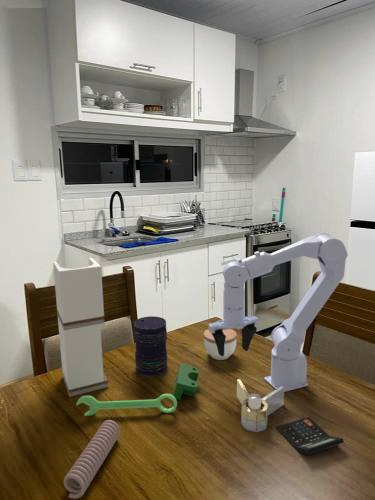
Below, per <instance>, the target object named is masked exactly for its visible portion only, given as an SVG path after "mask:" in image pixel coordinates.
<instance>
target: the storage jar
mask: <svg viewBox="0 0 375 500" xmlns="http://www.w3.org/2000/svg"><path fill="white" fill-rule="evenodd" d="M167 332H168V330H167V320H166V319H165V318H163V317H159V316H153V315H151V316H143V317H140V318H137V319H136V320H135V321H134V322H133V336H134V337H133V339H134V342H135V352H134V357H135V358H134V363H135V371H136V372H137V374H139V375H140V376H144V377H156V376H159V375H162V374H164V373H166V371H167V370H168V350H167V340H168V336H167V335H168V334H167Z"/></svg>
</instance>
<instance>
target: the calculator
mask: <svg viewBox="0 0 375 500" xmlns="http://www.w3.org/2000/svg"><path fill="white" fill-rule="evenodd" d="M275 429H276V431H278V432H279V433H280V434H281V435H282V437H284V439H285V440H286V441H287V442H288V443H289V444H290V446H292V447H293V448H294V449H295V450H296V451H297V452H298V453H302V454H305V455H312V454H314V453H317V452H321V451H323V450H327V449H330V448H332V447H334V446H338V445H341V444H345V442H344V441H345V440H344V438H343V437H338V436H333V435H329V434H328V432H326V431H325V430H324V429H323V428H322V427H321V426H319V424H317V423H316V422H315V421H314V420H312V418H310V417H309V416H306V417H304V418H300V419H296V420H293V421H290V422H287V423H283V424H279V425H277V426H275Z"/></svg>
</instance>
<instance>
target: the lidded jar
mask: <svg viewBox="0 0 375 500" xmlns="http://www.w3.org/2000/svg"><path fill="white" fill-rule="evenodd" d="M222 332H223V334H224V335H226V339H225V344H224V356H221V355H220V354H219V353H218V349H217V345H216V342H215V339H214V337H213V335H212V333H211V332H209V331H208V328H207V329H205V330H204V332H203V343H204V348H205V351H206V352H207V353H208V355H209V356H210V357H211V358H212V359H214V360H217V361H223V360H227V359H229V358H230V356H232V354H233V353H234V351H235V350H236V346H237V337H238V333H237V332H236V330H234V329H233V328H232V329H226V330H222Z"/></svg>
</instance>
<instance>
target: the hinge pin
mask: <svg viewBox="0 0 375 500" xmlns="http://www.w3.org/2000/svg"><path fill="white" fill-rule="evenodd" d="M249 394H250V395H249V396H248V409H251V410H255V411H258V410H261V399H262V396H261V395H260V394H257V393H249Z"/></svg>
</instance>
